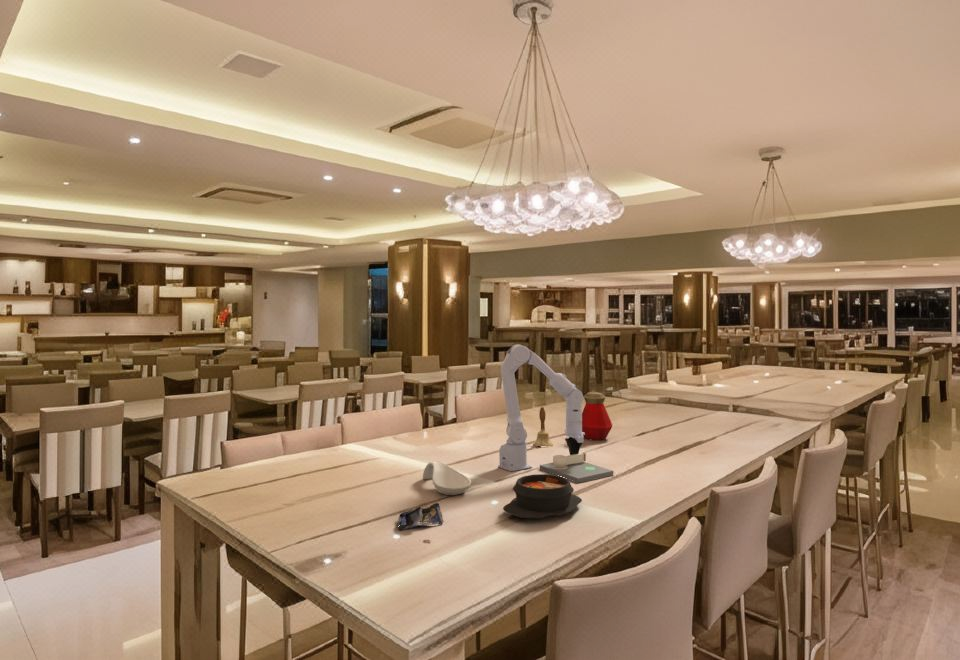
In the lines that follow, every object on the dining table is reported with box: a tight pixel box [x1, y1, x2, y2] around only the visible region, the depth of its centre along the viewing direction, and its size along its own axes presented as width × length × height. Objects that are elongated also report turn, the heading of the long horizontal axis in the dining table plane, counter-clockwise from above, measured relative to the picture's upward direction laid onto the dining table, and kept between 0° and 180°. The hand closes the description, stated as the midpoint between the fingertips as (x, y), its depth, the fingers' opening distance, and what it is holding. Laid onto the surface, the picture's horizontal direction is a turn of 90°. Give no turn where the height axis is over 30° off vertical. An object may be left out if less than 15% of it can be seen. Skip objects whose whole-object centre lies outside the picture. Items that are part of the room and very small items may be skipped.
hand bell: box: [532, 406, 554, 447], centre depth 243 cm, size 8×8×16 cm
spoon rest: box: [422, 461, 472, 496], centre depth 185 cm, size 24×12×7 cm, turn 30°
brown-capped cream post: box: [552, 452, 587, 467], centre depth 204 cm, size 14×4×3 cm, turn 123°
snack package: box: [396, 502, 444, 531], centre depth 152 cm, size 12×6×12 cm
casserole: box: [502, 473, 583, 520], centre depth 162 cm, size 25×19×8 cm
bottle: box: [582, 391, 613, 441], centre depth 255 cm, size 16×14×20 cm
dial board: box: [539, 461, 614, 484], centre depth 201 cm, size 16×20×2 cm
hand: (574, 458), depth 210 cm, fingers closed
